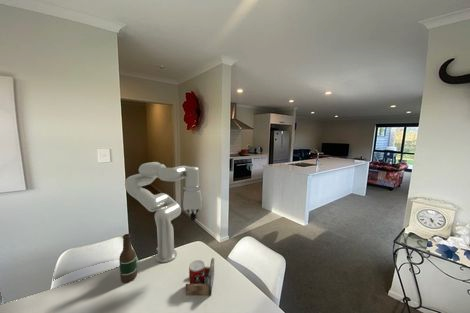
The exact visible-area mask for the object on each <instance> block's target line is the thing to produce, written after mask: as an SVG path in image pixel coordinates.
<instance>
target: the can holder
mask: <svg viewBox="0 0 470 313" xmlns="http://www.w3.org/2000/svg"><path fill="white" fill-rule="evenodd" d="M205 278H207V280H208V281H207V283H205V284H190V283H185V296H186V297H187V296H191V297H192V296H204V297H205V296H208V297H210V296H212V294H213V285H214V280H215V258H214V257H212V258H211V260H210V265H209V266H205Z"/></svg>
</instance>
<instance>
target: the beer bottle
mask: <svg viewBox="0 0 470 313" xmlns="http://www.w3.org/2000/svg"><path fill="white" fill-rule="evenodd" d="M131 237H132V236H131V234H130V233H126V234H123V235H122V251H121V253H120V255H119V258H118V259H119V261H118V262H119V273H120V275H119V276H120V280H121V283H122V284H123V283H124V284H127V283H130V282H133V281H134V280H135V279H136V277H137V275H138V268H137V267H138V266H137V264H138V263H137V253H136V251H135V250H134V249H133V247H132V242H131Z"/></svg>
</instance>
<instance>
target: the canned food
mask: <svg viewBox="0 0 470 313" xmlns="http://www.w3.org/2000/svg"><path fill="white" fill-rule="evenodd" d="M205 267H206V265H205V261H203V260H200V259H198V260H197V259H196V260H193V261H192V262H190V263H189V266H188V274H189V275H188V276H189V284H206V277H205Z"/></svg>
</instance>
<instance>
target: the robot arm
mask: <svg viewBox="0 0 470 313" xmlns="http://www.w3.org/2000/svg"><path fill="white" fill-rule="evenodd" d="M156 179H160V181H164V182H176V181H181V180H184V179H185V186H183V187H182V188H183V190H184V193H183V202H182V203H183V206H182V207H183V210H184V211H186V212H188V213H189V214H190V215H189V217H190V220H191V222H195V221H196V219H197V213H198V212H199V211H200V212H201V211H202V210H203V197H202V196H203V195H202V191H201V189H200V168H199V167H197V166H188V165H180V166H175V167H166V165H165V164H164V163H160V162H159V161H152V162H146V163H142V164H140V166H139V168H138V173H136V174H133V175H130V176H128V177H127V178H126V179H125V180H124V187H125V190H126V192H127V193H128V194H129V195H130V196H131V197H132V198H134V199H135V200H136V201H138V202H139V203H140V204H141V205H142V206H143V207H144V208H145V209H146V210H147V211H148V212H151V213H153V212H155V213H154V220H155V225H156V233H157V234H156V235H157V247H156V249H155V250H156V251H157V253H156V255H155V260H156V261H157V262H158V263H169V262H172V261H173V260H174V259H176V257H177V256H178V252H177V251H176V250H175V239H174V238H175V236H174V225H173V224H172V222H171V221H173V220H174V219H176V218H178V217H179V216H180V215H181V213H182V208H181V206H180V204H179V203H178V202H176V200H174V199H173V197H172V196H170V195H169V194H168V193H164V192H162V193H161V192H160V193H157V194H153V193H152V192H151V191H150V190H148V189H146V188H144V187H145V186H148V185H150V184H152V183H153V182H154V181H155V180H156Z"/></svg>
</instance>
